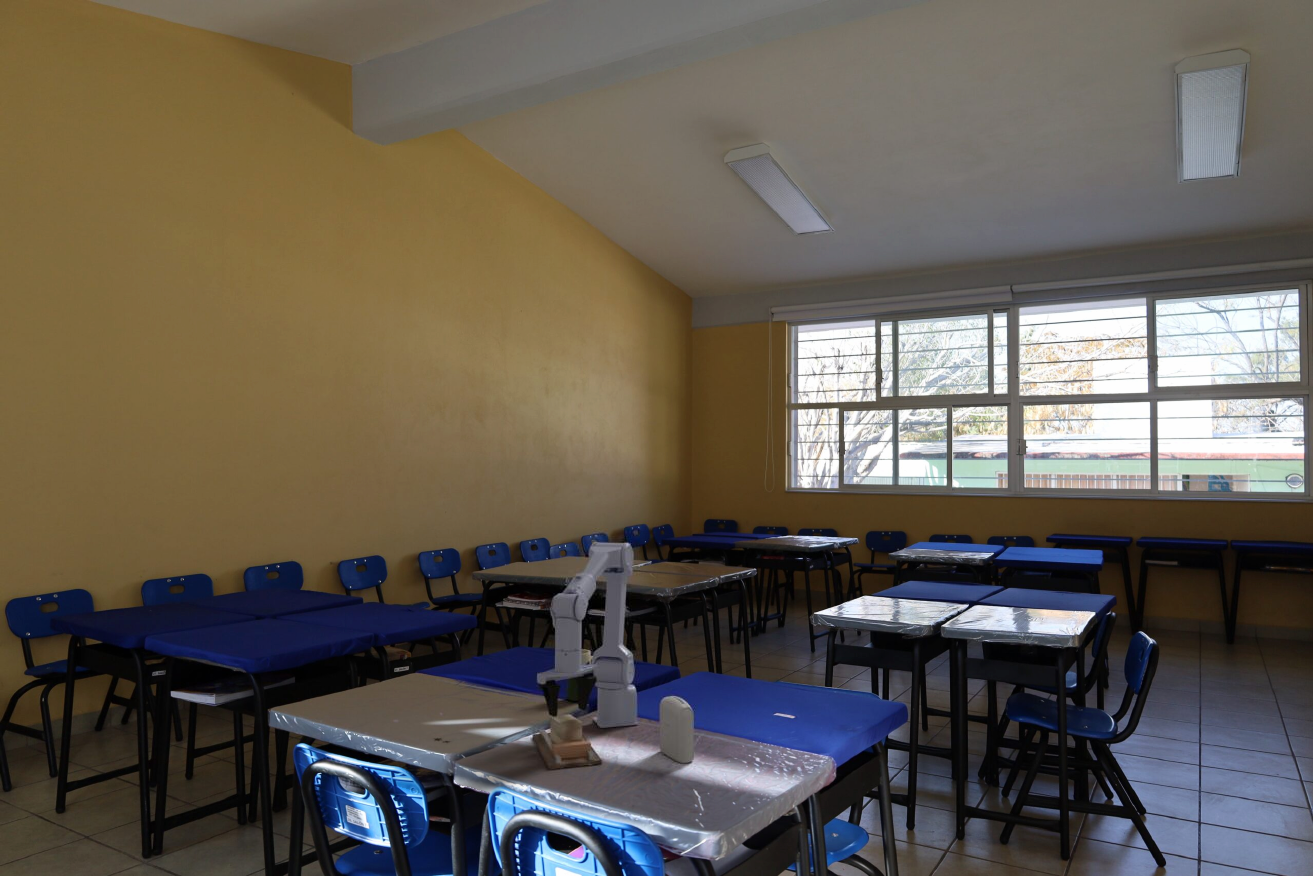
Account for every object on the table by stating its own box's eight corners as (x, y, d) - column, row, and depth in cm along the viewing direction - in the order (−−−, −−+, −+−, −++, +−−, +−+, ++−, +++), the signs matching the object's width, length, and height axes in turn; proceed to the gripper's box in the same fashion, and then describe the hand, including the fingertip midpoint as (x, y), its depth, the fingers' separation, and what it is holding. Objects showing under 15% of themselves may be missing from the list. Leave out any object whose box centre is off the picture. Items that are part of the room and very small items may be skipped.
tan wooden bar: (588, 752, 172) (588, 740, 172) (590, 755, 170) (591, 743, 170) (551, 756, 169) (552, 744, 169) (553, 759, 167) (553, 747, 168)
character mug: (565, 705, 212) (566, 656, 213) (553, 700, 218) (553, 651, 219) (601, 699, 218) (601, 651, 219) (588, 694, 224) (588, 647, 225)
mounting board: (579, 733, 188) (579, 730, 188) (601, 764, 167) (601, 760, 167) (532, 738, 184) (532, 734, 184) (549, 769, 164) (549, 765, 164)
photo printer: (657, 750, 176) (657, 693, 176) (674, 748, 177) (674, 691, 178) (678, 765, 166) (678, 704, 167) (696, 762, 168) (696, 702, 169)
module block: (569, 741, 179) (569, 714, 180) (581, 750, 173) (582, 722, 174) (550, 744, 177) (550, 717, 177) (562, 753, 171) (562, 725, 171)
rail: (573, 731, 187) (573, 726, 187) (594, 760, 167) (594, 754, 167) (539, 734, 184) (539, 729, 185) (556, 764, 165) (556, 758, 165)
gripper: (585, 642, 183) (584, 702, 182) (529, 650, 173) (529, 714, 173) (603, 646, 177) (603, 709, 176) (547, 655, 168) (546, 721, 167)
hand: (567, 712), depth 174 cm, fingers open, 7 cm apart
